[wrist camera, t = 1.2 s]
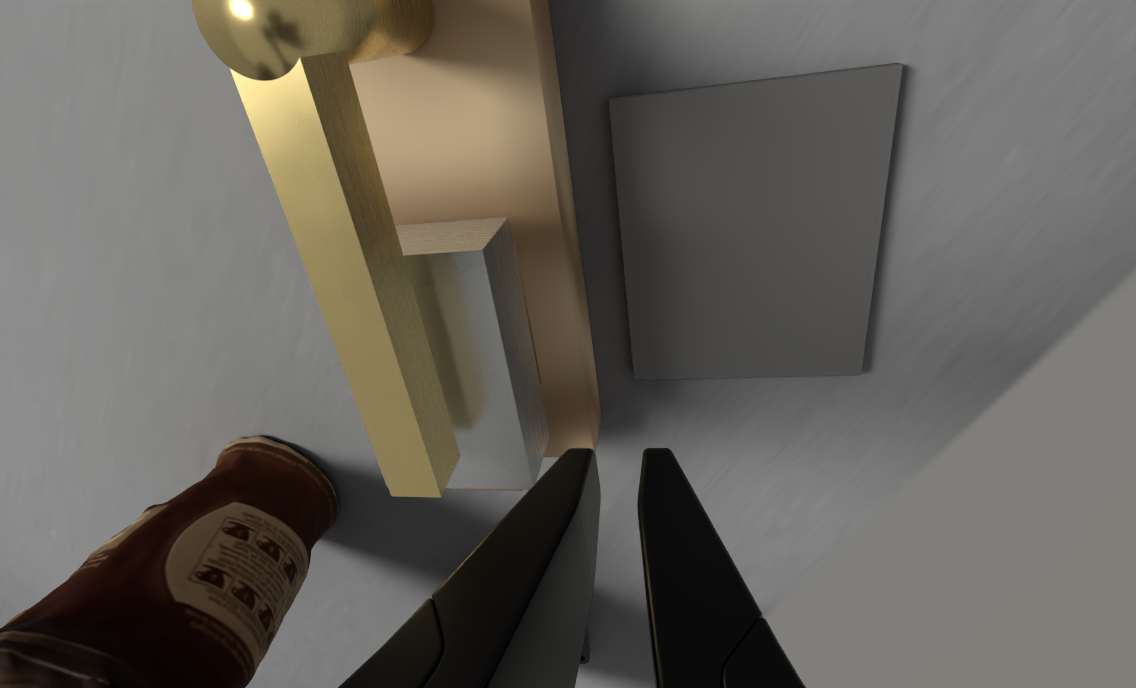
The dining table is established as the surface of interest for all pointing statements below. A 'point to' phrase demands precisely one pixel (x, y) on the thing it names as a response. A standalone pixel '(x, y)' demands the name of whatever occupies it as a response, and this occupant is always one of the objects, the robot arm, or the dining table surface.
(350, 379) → the latch lever
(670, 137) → the mat
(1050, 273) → the dining table surface
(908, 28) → the dining table surface
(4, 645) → the brown jar
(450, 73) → the latch plate
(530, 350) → the grey flat block
